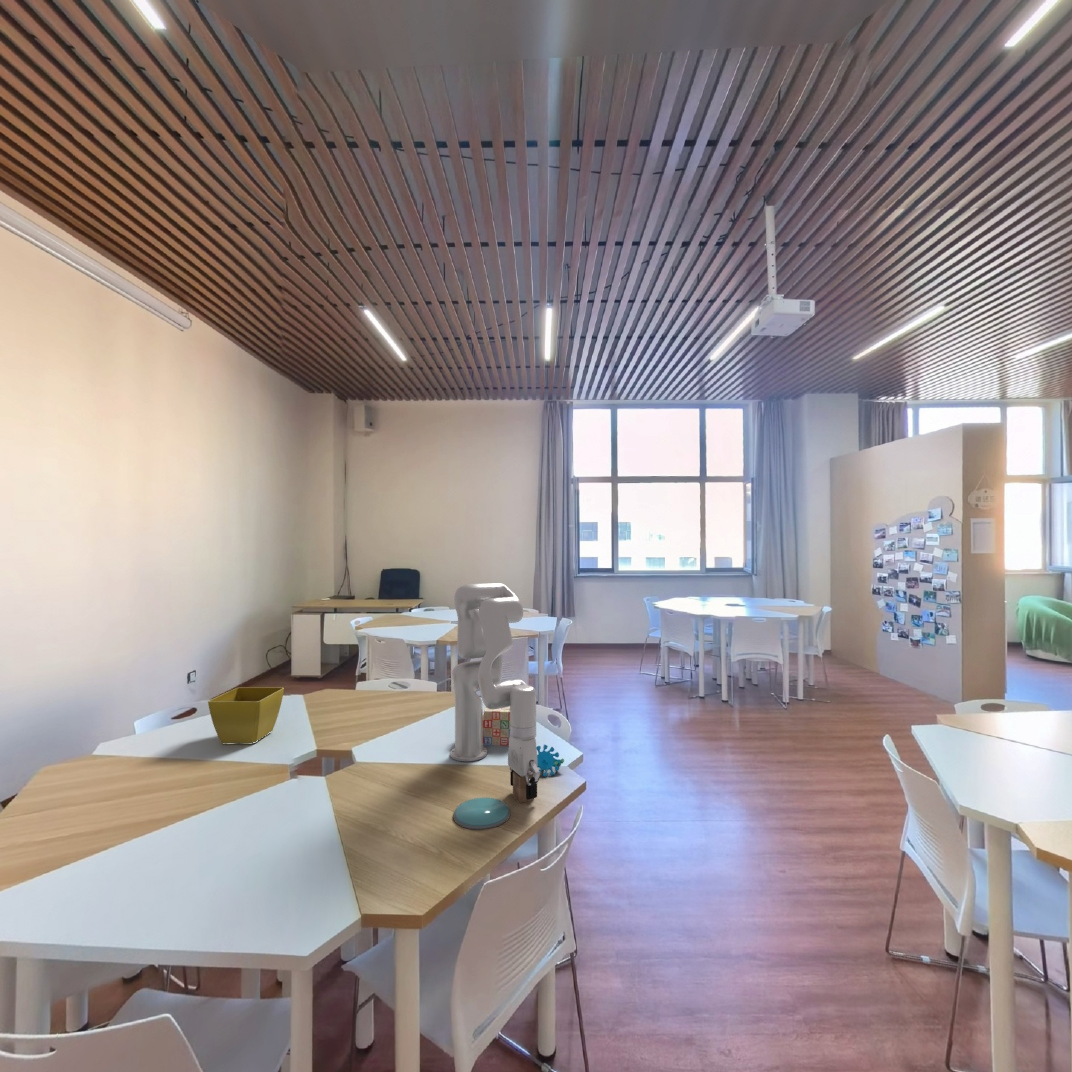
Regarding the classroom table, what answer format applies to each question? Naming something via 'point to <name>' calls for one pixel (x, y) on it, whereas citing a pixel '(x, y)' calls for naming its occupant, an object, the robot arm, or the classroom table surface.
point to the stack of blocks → (496, 726)
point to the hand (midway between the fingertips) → (523, 791)
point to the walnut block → (520, 787)
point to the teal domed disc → (481, 813)
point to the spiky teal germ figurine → (548, 760)
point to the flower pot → (245, 713)
